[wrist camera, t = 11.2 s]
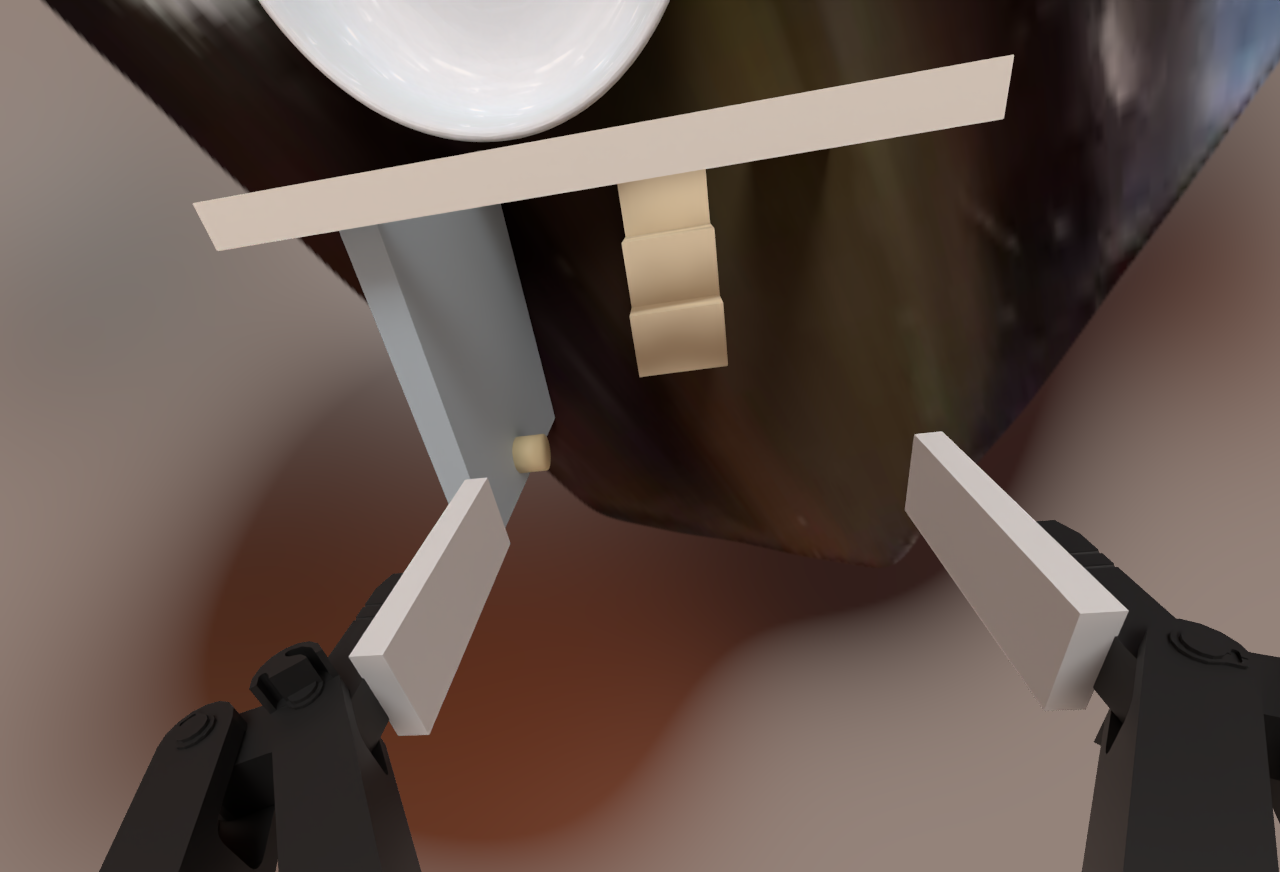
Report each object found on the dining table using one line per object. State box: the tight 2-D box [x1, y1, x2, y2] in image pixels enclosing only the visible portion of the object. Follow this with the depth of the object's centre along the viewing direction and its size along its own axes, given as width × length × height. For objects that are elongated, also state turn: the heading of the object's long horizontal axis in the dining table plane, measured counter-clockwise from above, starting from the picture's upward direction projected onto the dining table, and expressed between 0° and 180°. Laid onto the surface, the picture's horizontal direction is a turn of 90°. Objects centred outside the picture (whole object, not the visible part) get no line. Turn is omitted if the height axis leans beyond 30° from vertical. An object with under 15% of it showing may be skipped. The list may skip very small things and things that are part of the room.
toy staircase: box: [617, 169, 728, 377], centre depth 29 cm, size 10×5×8 cm, turn 9°
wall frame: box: [193, 55, 1014, 251], centre depth 23 cm, size 25×2×17 cm, turn 98°
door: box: [339, 204, 555, 527], centre depth 28 cm, size 16×3×15 cm, turn 8°
